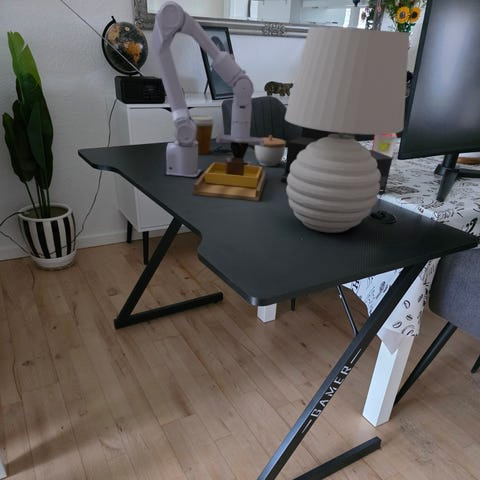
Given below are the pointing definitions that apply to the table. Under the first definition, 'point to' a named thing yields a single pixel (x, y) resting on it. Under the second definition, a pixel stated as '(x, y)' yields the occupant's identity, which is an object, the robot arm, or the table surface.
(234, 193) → the board
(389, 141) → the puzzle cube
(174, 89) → the robot arm
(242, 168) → the block
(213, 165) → the tray
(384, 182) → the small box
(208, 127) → the disposable coffee cup
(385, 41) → the table lamp
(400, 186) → the table surface
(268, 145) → the trinket box
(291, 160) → the bookend
